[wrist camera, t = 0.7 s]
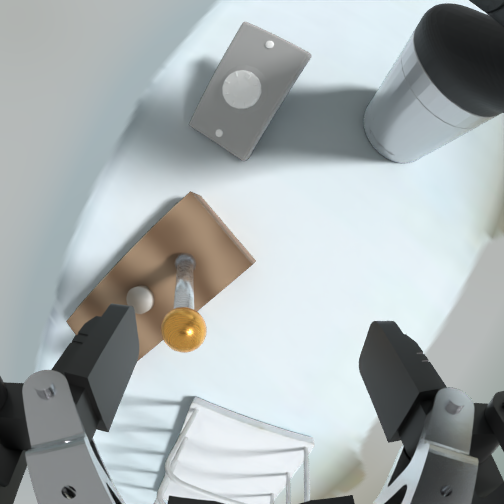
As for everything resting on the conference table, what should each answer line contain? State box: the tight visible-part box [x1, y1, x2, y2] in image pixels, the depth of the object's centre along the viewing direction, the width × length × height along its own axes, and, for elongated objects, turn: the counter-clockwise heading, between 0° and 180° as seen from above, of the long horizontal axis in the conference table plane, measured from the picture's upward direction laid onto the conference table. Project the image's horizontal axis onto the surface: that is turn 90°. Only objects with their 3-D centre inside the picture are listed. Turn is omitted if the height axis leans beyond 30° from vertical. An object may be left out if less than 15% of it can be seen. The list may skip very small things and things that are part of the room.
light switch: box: [189, 22, 311, 161], centre depth 31 cm, size 8×6×14 cm
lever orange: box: [161, 253, 206, 352], centre depth 25 cm, size 3×3×14 cm
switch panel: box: [66, 191, 256, 361], centre depth 34 cm, size 24×10×5 cm, turn 131°
